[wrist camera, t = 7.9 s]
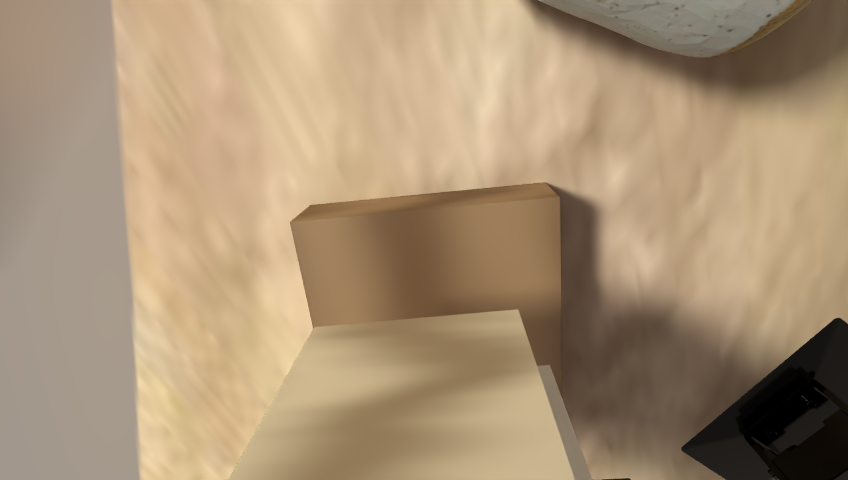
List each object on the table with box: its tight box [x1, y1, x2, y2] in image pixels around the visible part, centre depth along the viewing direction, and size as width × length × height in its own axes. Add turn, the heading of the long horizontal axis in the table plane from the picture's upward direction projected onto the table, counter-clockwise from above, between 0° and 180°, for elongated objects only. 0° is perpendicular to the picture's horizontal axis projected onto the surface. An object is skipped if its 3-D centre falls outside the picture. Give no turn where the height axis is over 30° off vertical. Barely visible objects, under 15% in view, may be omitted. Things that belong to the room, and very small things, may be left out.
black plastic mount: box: [681, 318, 848, 480], centre depth 19 cm, size 12×7×5 cm, turn 145°
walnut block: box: [290, 182, 562, 397], centre depth 19 cm, size 10×10×3 cm
